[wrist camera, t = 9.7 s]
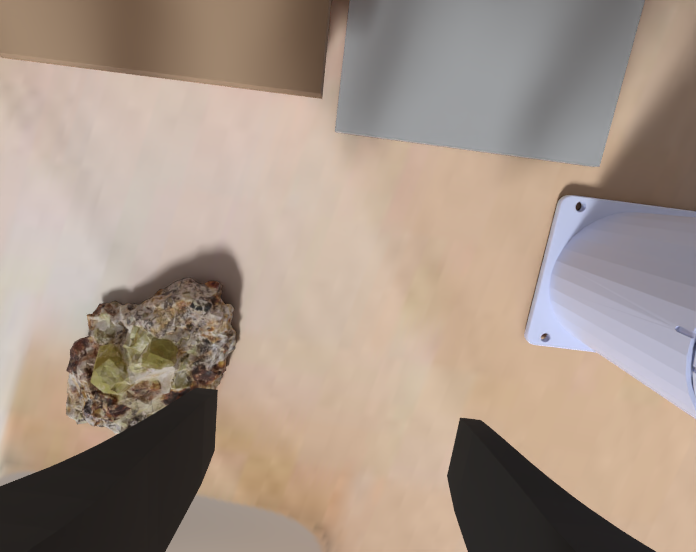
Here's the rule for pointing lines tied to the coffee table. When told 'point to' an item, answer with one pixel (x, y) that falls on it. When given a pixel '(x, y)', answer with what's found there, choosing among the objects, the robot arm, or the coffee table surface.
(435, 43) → the rubber mat
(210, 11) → the walnut lid
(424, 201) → the coffee table surface
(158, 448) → the robot arm
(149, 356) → the mineral rock
